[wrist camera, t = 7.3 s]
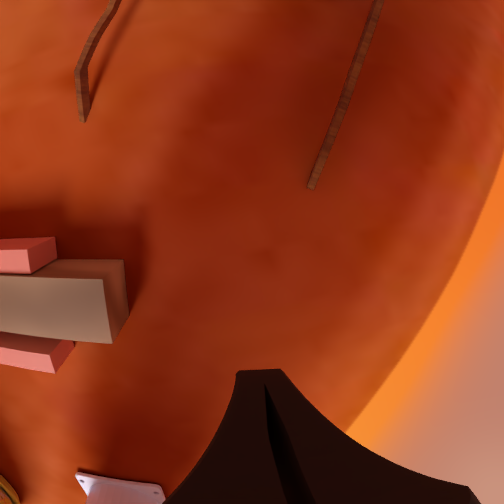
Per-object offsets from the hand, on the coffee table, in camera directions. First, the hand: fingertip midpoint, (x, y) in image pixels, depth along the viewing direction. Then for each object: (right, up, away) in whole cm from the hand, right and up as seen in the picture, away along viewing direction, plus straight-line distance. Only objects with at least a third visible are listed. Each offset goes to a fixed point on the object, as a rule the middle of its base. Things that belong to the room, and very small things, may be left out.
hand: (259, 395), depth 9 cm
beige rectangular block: (-11, +3, +7) cm, 14 cm away
